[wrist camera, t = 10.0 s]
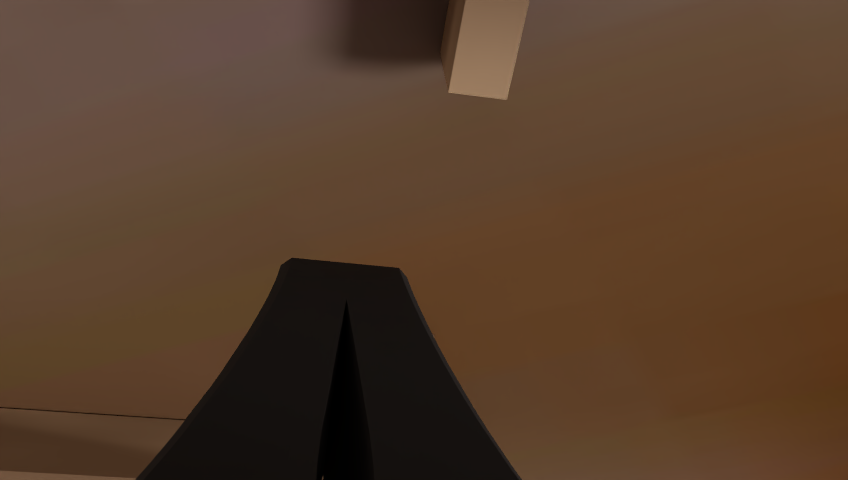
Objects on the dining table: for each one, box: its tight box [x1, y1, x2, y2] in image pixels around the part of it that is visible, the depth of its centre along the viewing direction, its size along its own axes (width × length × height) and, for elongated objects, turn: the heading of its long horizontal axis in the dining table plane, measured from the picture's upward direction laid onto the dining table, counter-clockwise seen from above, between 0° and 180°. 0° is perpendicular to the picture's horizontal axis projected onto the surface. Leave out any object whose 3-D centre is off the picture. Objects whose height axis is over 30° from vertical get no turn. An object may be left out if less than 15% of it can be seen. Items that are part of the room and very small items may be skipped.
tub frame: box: [0, 0, 530, 480], centre depth 18 cm, size 18×18×2 cm
